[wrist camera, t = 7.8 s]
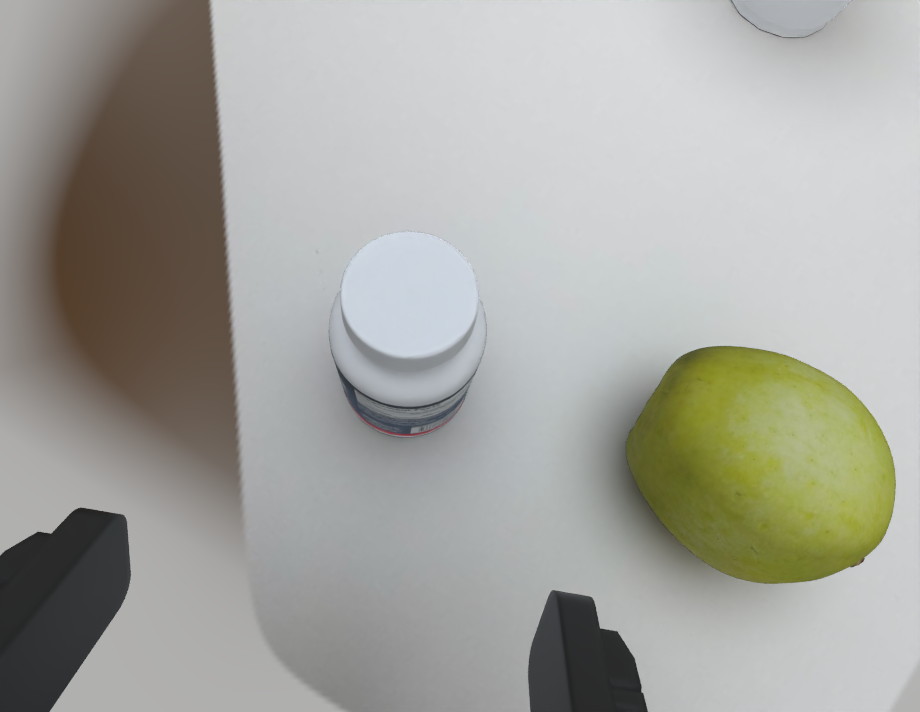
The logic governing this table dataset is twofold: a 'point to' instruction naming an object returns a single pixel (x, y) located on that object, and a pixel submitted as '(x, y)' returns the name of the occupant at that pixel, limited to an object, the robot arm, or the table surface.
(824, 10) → the foam cup
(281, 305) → the table surface
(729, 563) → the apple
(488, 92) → the table surface
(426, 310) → the pill bottle
